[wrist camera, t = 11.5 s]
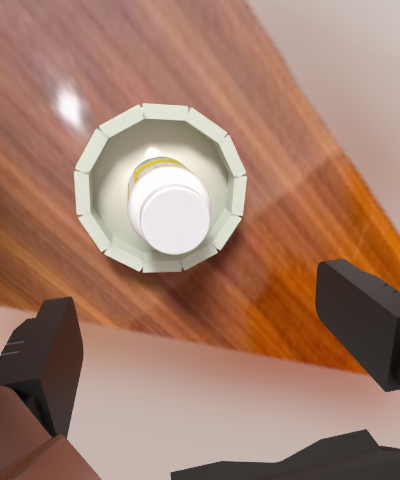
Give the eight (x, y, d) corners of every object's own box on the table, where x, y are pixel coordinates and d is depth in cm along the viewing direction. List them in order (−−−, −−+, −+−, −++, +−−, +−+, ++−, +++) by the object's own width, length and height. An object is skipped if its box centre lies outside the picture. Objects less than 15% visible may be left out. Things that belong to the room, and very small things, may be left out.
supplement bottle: (175, 231, 30) (193, 280, 21) (116, 202, 28) (108, 243, 19) (205, 175, 29) (239, 202, 20) (146, 142, 27) (153, 155, 18)
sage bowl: (47, 155, 27) (37, 159, 24) (193, 75, 27) (200, 70, 24) (133, 282, 32) (133, 298, 29) (257, 215, 32) (269, 224, 29)
